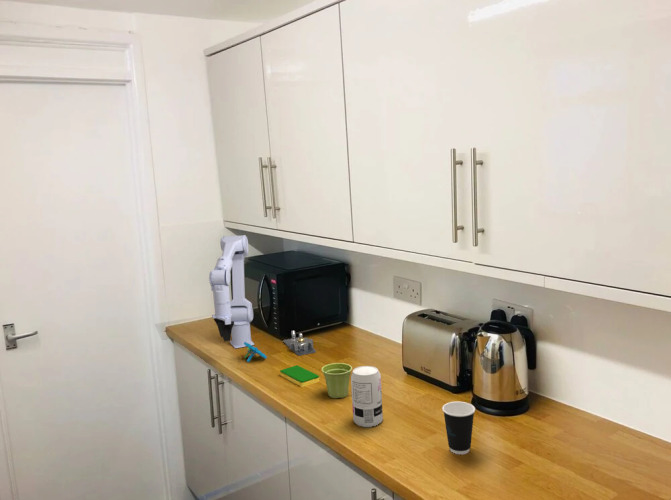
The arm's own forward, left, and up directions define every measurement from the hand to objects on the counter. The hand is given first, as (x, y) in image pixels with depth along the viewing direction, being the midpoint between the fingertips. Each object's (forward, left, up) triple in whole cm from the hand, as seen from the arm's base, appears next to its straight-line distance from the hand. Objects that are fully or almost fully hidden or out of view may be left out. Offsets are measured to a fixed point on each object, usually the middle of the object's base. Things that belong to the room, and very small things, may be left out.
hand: (225, 338), depth 214 cm
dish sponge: (+26, +18, -11) cm, 34 cm away
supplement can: (+66, +24, -10) cm, 71 cm away
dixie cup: (+91, +38, -10) cm, 99 cm away
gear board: (-4, +29, -10) cm, 31 cm away
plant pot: (+45, +24, -10) cm, 52 cm away
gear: (0, +10, -10) cm, 14 cm away
